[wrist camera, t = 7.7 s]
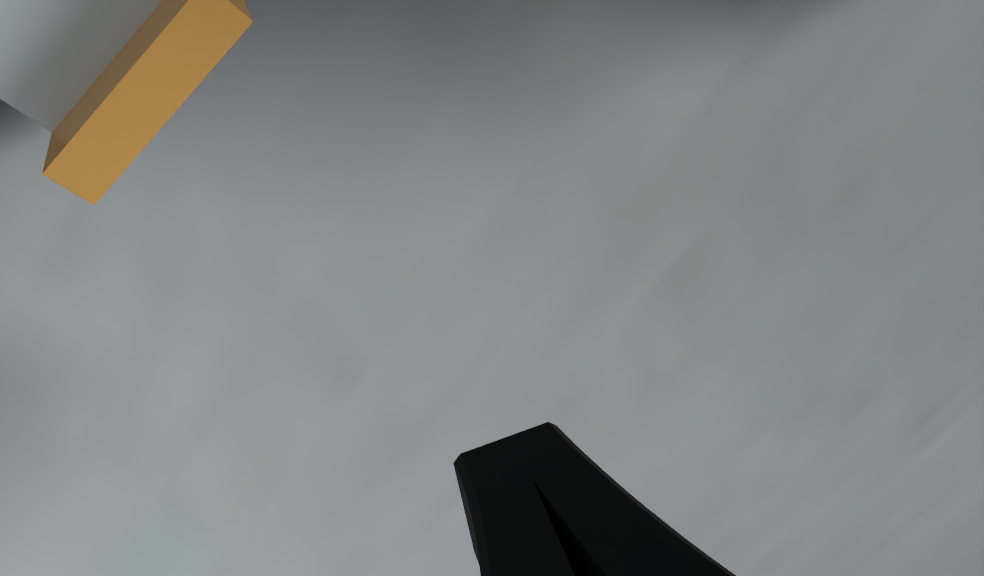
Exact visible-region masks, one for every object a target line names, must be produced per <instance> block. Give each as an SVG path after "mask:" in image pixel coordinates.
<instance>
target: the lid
mask: <svg viewBox="0 0 984 576" xmlns="http://www.w3.org/2000/svg"><path fill="white" fill-rule="evenodd" d="M252 23H253V20H252V17H251V15H250V12H249V10H248V7H247V5H246V2H245V0H0V99H1V100H2V101H4V102H6V103H7V104H9V105H10V106H12V107H13V108H15V109H17V110H18V111H20V112H21V113H23V114H24V115H26V116H28V117H29V118H31V119H32V120H34V121H35V122H37V123H39V124H40V125H42V126H43V127H45V128H46V129H48V130H50V131H51V132H52V135H51V139H50V143H49V147H48V152H47V156H46V160H45V164H44V168H43V173H42V174H43V175H45V176H46V177H48V178H50V179H51V180H53V181H55V182H56V183H58V184H60V185H61V186H63V187H65V188H66V189H68V190H70V191H71V192H73V193H75V194H76V195H78V196H80V197H81V198H83V199H85V200H86V201H88V202H90V203H91V204H93V205H95V204H96V203H97V202H98V201H99V199H100V198H101V197H102V196H103V195H104V194H105V192H106V191H107V190H108V189H109V188H110V187H111V185H112V184H113V183H114V182H115V181H116V180H117V179H118V177H119V176H120V175H121V174H122V173H123V172H124V170H125V169H126V168H127V167H128V166H129V165H130V164H131V162H132V161H133V160H134V159H135V158H136V157H137V155H138V154H139V153H140V152H141V151H142V150H143V149H144V147H145V146H146V145H147V144H148V143H149V142H150V140H151V139H152V138H153V137H154V136H155V135H156V134H157V132H158V131H159V130H160V129H161V128H162V127H163V125H164V124H165V123H166V122H167V121H168V120H169V118H170V117H171V116H172V115H173V114H174V113H175V112H176V110H177V109H178V108H179V107H180V106H181V105H182V103H183V102H184V101H185V100H186V99H187V98H188V97H189V95H190V94H191V93H192V92H193V91H194V90H195V88H196V87H197V86H198V85H199V84H200V83H201V82H202V80H203V79H204V78H205V77H206V76H207V75H208V73H209V72H210V71H211V70H212V69H213V68H214V67H215V65H216V64H217V63H218V62H219V61H220V60H221V58H222V57H223V56H224V55H225V54H226V53H227V51H228V50H229V49H230V48H231V47H232V46H233V45H234V43H235V42H236V41H237V40H238V39H239V38H240V36H241V35H242V34H243V33H244V32H245V31H246V30H247V28H248V27H249V26H250V25H251V24H252Z"/></svg>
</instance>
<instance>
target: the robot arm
mask: <svg viewBox="0 0 984 576" xmlns="http://www.w3.org/2000/svg"><path fill="white" fill-rule="evenodd" d="M454 467H455V472H456V476H457V480H458V484H459V488H460V493H461V497H462V501H463V505H464V510H465V514H466V518H467V522H468V527H469V531H470V535H471V539H472V543H473V548H474V551H475V554H476V557H477V560H478V563H479V565H480V572H481V576H736V575H734V574H733V573H732V572H730V571H729V570H727V569H726V568H725V567H723V566H722V565H720V564H719V563H718V562H716V561H715V560H713V559H712V558H711V557H709V556H708V555H706V554H705V553H704V552H702V551H701V550H700V549H698V548H697V547H696V546H694V545H693V544H692V543H691V542H689V541H688V540H687V539H685V538H684V537H683V536H681V535H680V534H679V533H678V532H676V531H675V530H674V529H673V528H671V527H670V526H669V525H668V524H666V523H665V522H664V521H663V520H661V519H660V518H659V517H658V516H656V515H655V514H654V513H653V512H651V511H650V510H649V509H648V508H646V507H645V506H644V505H643V504H641V503H640V502H639V501H638V500H637V499H635V498H634V497H633V496H632V495H631V494H629V493H628V492H627V491H626V490H625V489H624V488H623V487H621V486H620V485H619V484H618V483H617V482H616V481H615V480H613V479H612V478H611V477H610V476H609V475H608V474H607V473H605V472H604V471H603V470H602V469H601V468H600V467H599V466H598V465H597V464H596V463H594V462H593V461H592V460H591V459H590V458H589V457H588V456H587V455H586V454H585V453H584V452H583V451H582V450H580V449H579V448H578V447H577V446H576V445H575V444H574V443H573V442H572V441H571V440H570V439H569V438H568V437H567V436H566V435H565V434H564V433H563V432H562V431H561V430H560V429H559V428H558V427H557V426H556V425H554V424H552V423H549V422H547V423H544V424H542V425H539V426H536V427H533V428H530V429H528V430H525V431H522V432H519V433H517V434H514V435H511V436H508V437H506V438H503V439H500V440H497V441H495V442H492V443H489V444H486V445H484V446H481V447H478V448H475V449H472V450H470V451H467V452H464V453H461V454H460V455H459V456H458V458H457V459H456V460H455V462H454Z"/></svg>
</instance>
